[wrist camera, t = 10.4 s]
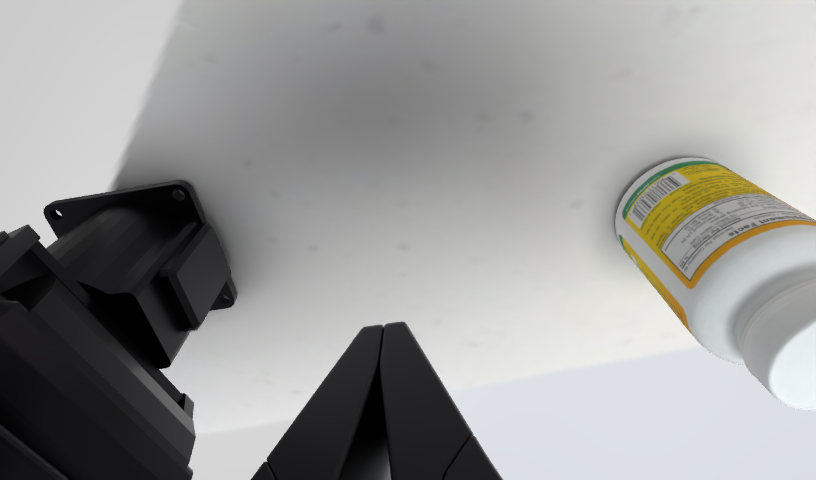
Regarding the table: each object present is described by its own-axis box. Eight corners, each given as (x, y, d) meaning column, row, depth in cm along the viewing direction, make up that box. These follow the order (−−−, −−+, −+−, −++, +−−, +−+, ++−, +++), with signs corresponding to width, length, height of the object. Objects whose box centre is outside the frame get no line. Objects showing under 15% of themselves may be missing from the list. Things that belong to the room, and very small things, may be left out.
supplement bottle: (620, 159, 20) (776, 287, 12) (747, 148, 20) (996, 271, 12) (604, 266, 23) (724, 433, 14) (717, 257, 23) (904, 421, 14)
